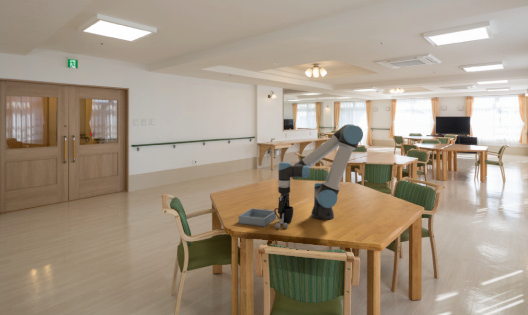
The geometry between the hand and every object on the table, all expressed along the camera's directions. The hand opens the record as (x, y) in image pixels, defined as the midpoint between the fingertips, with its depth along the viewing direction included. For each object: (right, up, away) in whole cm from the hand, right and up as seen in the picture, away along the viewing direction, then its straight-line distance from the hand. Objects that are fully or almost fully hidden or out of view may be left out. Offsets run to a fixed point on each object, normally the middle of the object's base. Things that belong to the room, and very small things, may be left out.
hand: (283, 221), depth 209 cm
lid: (-13, +2, +21) cm, 24 cm away
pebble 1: (-5, -2, -14) cm, 15 cm away
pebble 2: (0, -2, -13) cm, 13 cm away
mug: (0, 0, 0) cm, 1 cm away
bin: (-17, 0, +2) cm, 17 cm away
